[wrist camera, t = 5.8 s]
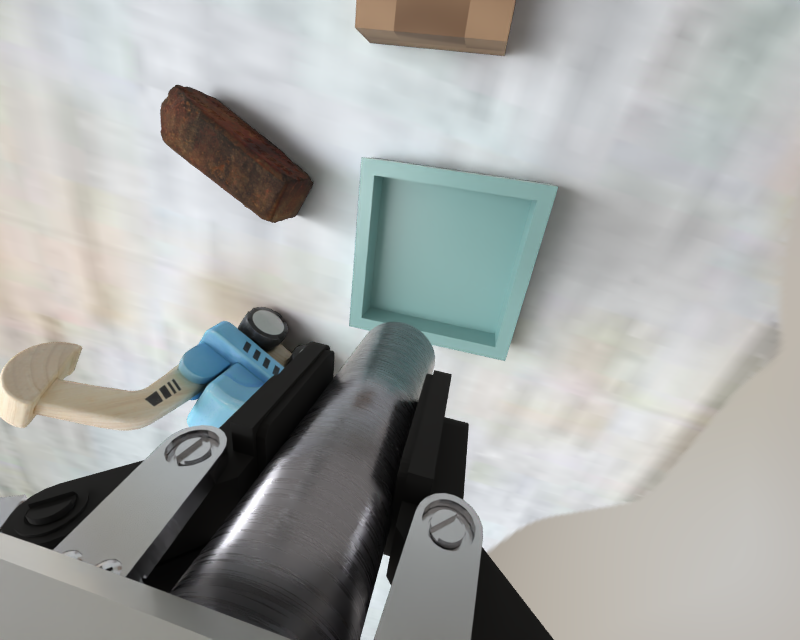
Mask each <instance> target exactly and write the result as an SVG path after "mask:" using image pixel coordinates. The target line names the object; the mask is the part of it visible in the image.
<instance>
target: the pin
mask: <svg viewBox="0 0 800 640" xmlns="http://www.w3.org/2000/svg"><path fill="white" fill-rule="evenodd" d="M434 364H435V355H434V350H433V347H432V345H431V343H430V341H429V340H428V338H427V337H426V336H425V335H424V334H423V333H422V332H421V331H420V330H418V329H417V328H415V327H413V326H411V325H409V324H406V323H403V322H386V323H382V324H380V325H378V326H376V327H374V328H373V329H372V330H370V331H369V333H368V334H367V335H366V336H365V338H364V339H363V340H362V342H361V343H360V344H359V346H358V347H357V348H356V349H355V351H354V352H353V353H352V355H351V356H350V357H349V359H348V360H347V361H346V363H345V364H344V365H343V366H342V368H341V369H340V370H339V372H338V373H337V374H336V376H335V377H334V378H333V380H332V381H331V382H330V383H329V385H328V386H327V387H326V389H325V390H324V391H323V393H322V394H321V395H320V397H319V398H318V399H317V401H316V402H315V403H314V404H313V406H312V407H311V408H310V410H309V411H308V412H307V414H306V415H305V416H304V418H303V419H302V420H301V421H300V423H299V424H298V425H297V427H296V428H295V429H294V431H293V432H292V433H291V435H290V436H289V437H288V439H287V440H286V441H285V442H284V444H283V445H282V446H281V448H280V449H279V450H278V452H277V453H276V454H275V456H274V457H273V458H272V459H271V461H270V462H269V463H268V465H267V466H266V467H265V469H264V470H263V471H262V473H261V474H260V475H259V476H258V478H257V479H256V480H255V482H254V483H253V484H252V486H251V487H250V488H249V490H248V491H247V492H246V494H245V495H244V496H243V497H242V499H241V500H240V501H239V503H238V504H237V505H236V507H235V508H234V509H233V511H232V512H231V513H230V514H229V516H228V517H227V518H226V520H225V521H224V522H223V524H222V525H221V526H220V528H219V529H218V530H217V531H216V533H215V534H214V535H213V537H212V538H211V539H210V541H209V542H208V543H207V545H206V546H205V547H204V549H203V550H202V551H201V552H200V554H199V555H198V556H197V558H196V559H195V560H194V562H193V563H192V564H191V566H190V567H189V568H188V569H187V571H186V572H185V573H184V575H183V576H182V577H181V579H180V580H179V581H178V583H177V584H176V585H175V587H174V588H173V589H172V590H171V592H170V593H169V594H172V595H175V596H177V597H180V598H183V599H185V600H188V601H191V602H193V603H196V604H199V605H201V606H204V607H207V608H209V609H212V610H215V611H217V612H220V613H223V614H225V615H228V616H231V617H233V618H236V619H239V620H241V621H244V622H246V623H249V624H252V625H254V626H257V627H260V628H262V629H265V630H268V631H270V632H273V633H276V634H278V635H281V636H284V637H286V638H289V639H291V640H360V637H361V633H362V629H363V626H364V622H365V618H366V615H367V611H368V607H369V604H370V600H371V596H372V593H373V589H374V585H375V582H376V578H377V574H378V571H379V567H380V563H381V560H382V556H383V552H384V549H385V545H386V541H387V537H388V534H389V530H390V526H391V523H392V518H393V510H392V502H393V496H394V490H395V484H396V479H397V474H398V469H399V465H400V461H401V458H402V454H403V451H404V448H405V444H406V441H407V437H408V434H409V431H410V427H411V424H412V421H413V417H414V414H415V410H416V407H417V404H418V400H419V397H420V394H421V390H422V387H423V383H424V380H425V377H426V374H427V373H428V374H432V372H433V368H434Z"/></svg>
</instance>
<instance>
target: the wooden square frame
mask: <svg viewBox="0 0 800 640" xmlns="http://www.w3.org/2000/svg"><path fill="white" fill-rule="evenodd" d="M515 3H516V0H357V2H356V20H355V28H356V29H357V30H358V31H359V32H360V33H361V34H362V35H363V36H364V37H365V38H366V39H367V40H368V41H369V42H370V43H378V44H388V45H398V46H408V47H418V48H429V49H439V50H449V51H459V52H469V53H480V54H490V55H500V56H505V51H506V46H507V41H508V37H509V32H510V27H511V22H512V18H513V13H514V8H515Z"/></svg>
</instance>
